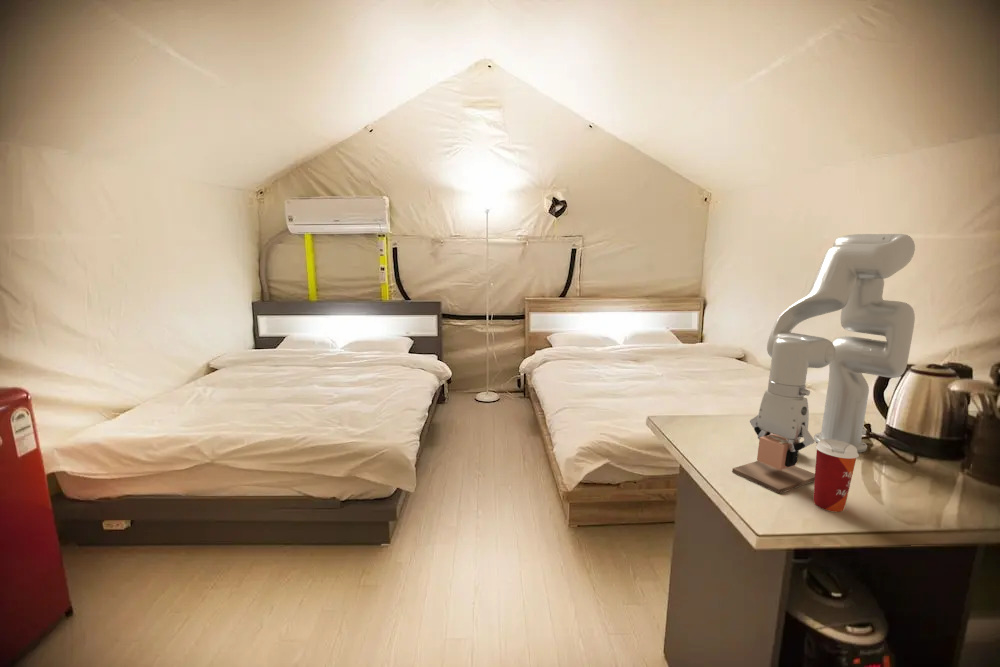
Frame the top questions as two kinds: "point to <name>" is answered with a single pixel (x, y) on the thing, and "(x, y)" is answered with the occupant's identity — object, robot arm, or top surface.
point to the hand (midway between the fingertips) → (776, 459)
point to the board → (775, 476)
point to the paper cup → (833, 473)
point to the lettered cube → (773, 451)
